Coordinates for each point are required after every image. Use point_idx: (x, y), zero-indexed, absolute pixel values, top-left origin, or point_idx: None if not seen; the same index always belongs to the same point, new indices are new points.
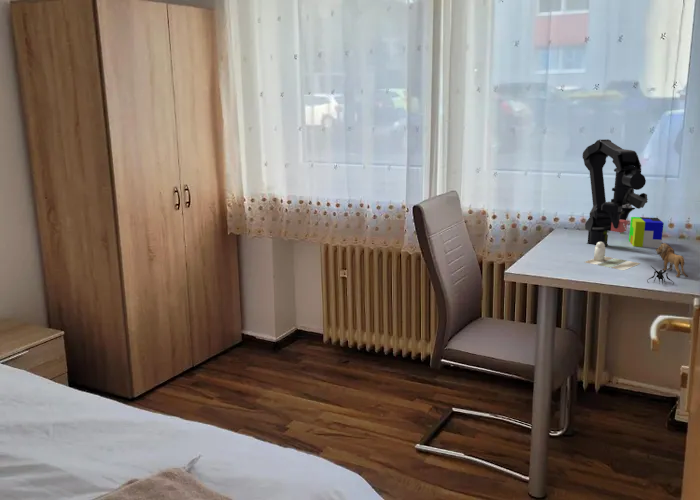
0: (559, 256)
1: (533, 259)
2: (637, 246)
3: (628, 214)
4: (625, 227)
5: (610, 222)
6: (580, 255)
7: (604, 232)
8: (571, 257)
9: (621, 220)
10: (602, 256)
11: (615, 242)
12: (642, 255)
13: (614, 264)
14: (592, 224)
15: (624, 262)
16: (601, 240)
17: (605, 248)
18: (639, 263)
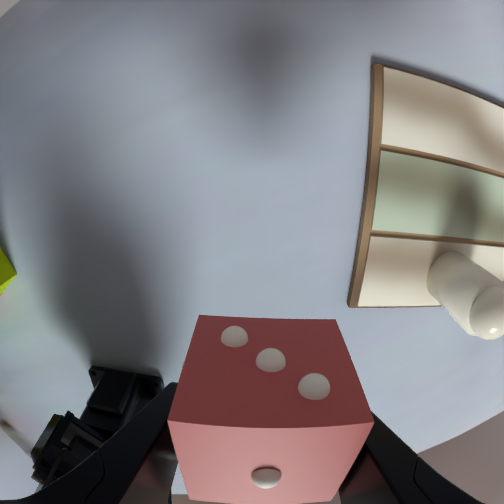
0: (417, 406)
1: (475, 415)
2: (7, 260)
3: (59, 484)
4: (227, 347)
5: (78, 458)
6: (363, 378)
7: (107, 425)
8: (414, 380)
9: (258, 462)
10: (476, 263)
11: (31, 352)
12: (126, 153)
13: (483, 182)
14: (169, 499)
15: (425, 150)
16: (134, 401)
17: (486, 279)
18: (392, 73)
